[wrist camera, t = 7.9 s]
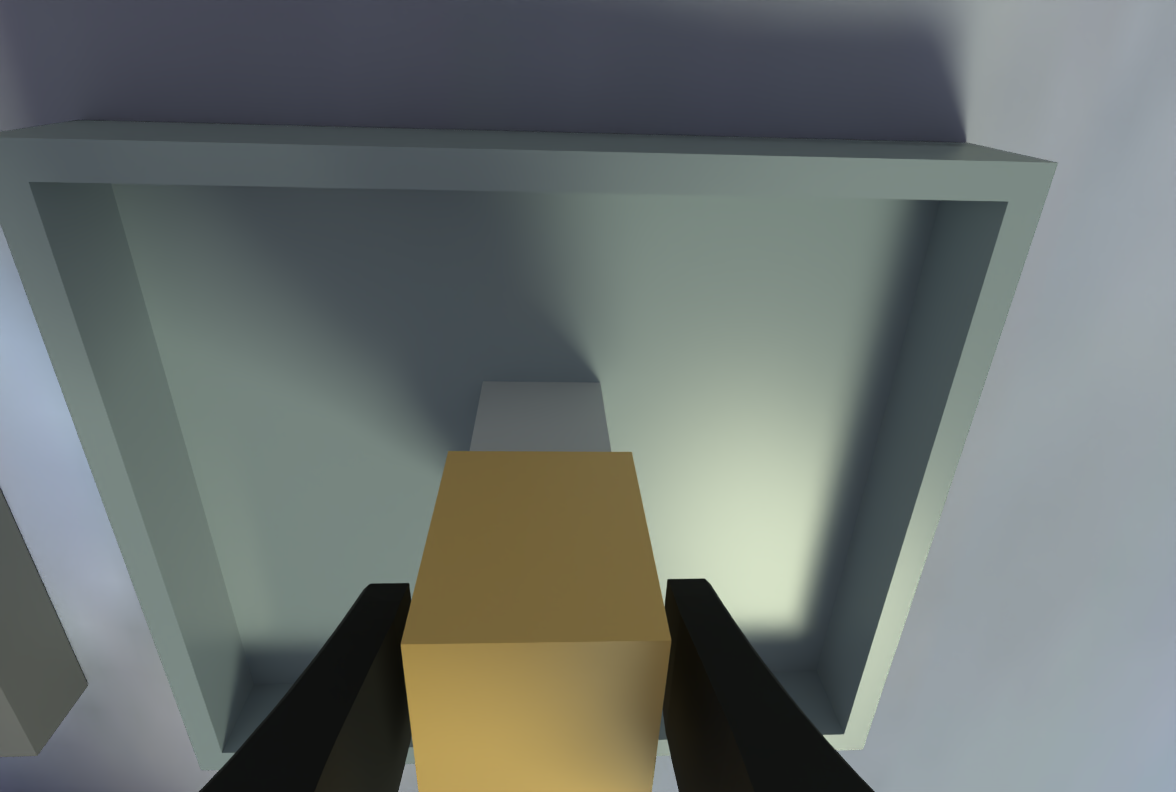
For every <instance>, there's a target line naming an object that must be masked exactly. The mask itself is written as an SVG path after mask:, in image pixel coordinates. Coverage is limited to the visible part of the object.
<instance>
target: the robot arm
mask: <svg viewBox="0 0 1176 792" xmlns="http://www.w3.org/2000/svg"><path fill="white" fill-rule="evenodd" d="M410 604H411V594H410V585H409V583H371V584H369V585H368V586H367V587H366V588H364V589H363V591H362V592H361V594H360V595H359V597H358V598H357V600H356V601H355V602H354V604H353V605H352V607H351V608H350V610H349V611H348V612H347V614H346V615H345V617H344V618H343V620H342V621H341V622H340V624H339V625H338V626H337V628H336V629H335V631H334V632H333V633H332V635H331V636H330V637H329V639H328V640H327V641H326V643H325V644H324V645H323V647H322V648H321V649H320V651H319V652H318V653H317V655H316V656H315V657H314V659H313V660H312V661H311V662H310V664H309V665H308V666H307V668H306V669H305V670H304V671H303V673H302V674H301V675H300V676H299V678H298V679H297V680H296V681H295V683H294V684H293V685H292V686H291V688H290V689H289V690H288V692H287V693H286V694H285V695H284V697H283V698H282V699H281V700H280V701H279V703H278V704H277V705H276V706H275V707H274V709H273V710H272V711H271V712H270V713H269V714H268V716H267V717H266V718H265V719H264V720H263V721H262V723H261V724H260V725H259V726H258V727H257V728H256V729H255V731H254V732H253V733H252V734H251V735H250V736H249V737H248V739H247V740H246V741H245V742H244V743H243V744H242V746H241V747H240V748H239V749H238V750H237V751H236V752H235V754H234V755H233V756H232V757H231V758H230V759H229V760H228V761H227V762H226V764H225V765H224V766H223V767H222V768H221V769H220V770H219V771H218V772H217V773H216V774H215V775H214V776H213V778H212V779H211V780H210V781H209V782H208V783H207V784H206V785H205V786H204V787H203V788H202V789H201V790H200V791H199V792H398V790H399V786H400V782H401V778H402V774H403V770H404V766H405V762H406V758H407V754H408V750H409V746H410V741H411V736H412V733H411V725H410V717H409V709H408V701H407V693H406V684H405V676H404V668H403V660H402V652H401V641H402V637H403V633H404V629H405V625H406V620H407V616H408V612H409V608H410ZM664 607H665V612H666V617H667V622H668V626H669V631H670V636H671V648H670V656H669V663H668V671H667V678H666V686H665V694H664V701H663V717H664V725H665V732H666V737H667V741H668V746H669V750H670V755H671V759H672V763H673V768H674V772H675V776H676V781H677V785H678V789H679V792H874V791H873V790H872V789H871V788H870V786H869V785H868V784H867V783H866V782H865V781H864V780H863V779H862V778H861V777H860V776H859V775H858V774H857V773H856V772H855V771H854V770H853V769H852V767H851V766H850V765H849V764H848V763H847V762H846V761H845V760H844V759H843V758H842V757H841V755H840V754H839V753H838V752H837V751H836V750H835V749H834V748H833V746H832V745H831V744H830V743H829V742H828V741H827V740H826V738H825V737H824V736H823V735H822V734H821V733H820V731H819V730H818V729H817V728H816V727H815V725H814V724H813V723H812V722H811V721H810V720H809V718H808V717H807V716H806V715H805V714H804V712H803V711H802V710H801V709H800V708H799V706H798V705H797V704H796V703H795V701H794V700H793V699H792V698H791V696H790V695H789V694H788V693H787V691H786V690H785V689H784V687H783V686H782V685H781V684H780V682H779V681H778V680H777V678H776V677H775V676H774V674H773V673H772V672H771V671H770V669H769V668H768V667H767V665H766V664H765V663H764V661H763V660H762V659H761V657H760V656H759V655H758V653H757V652H756V651H755V649H754V648H753V646H752V645H751V644H750V642H749V641H748V639H747V638H746V636H745V635H744V634H743V632H742V631H741V629H740V628H739V627H738V625H737V624H736V622H735V621H734V619H733V618H732V616H731V615H730V613H729V612H728V610H727V609H726V607H725V606H724V604H723V603H722V601H721V600H720V598H719V597H718V595H717V593H716V592H715V590H714V589H713V587H712V585H711V584H710V583H709V582H708V581H707V580H706V579H705V578H699V579H667V587H666V597H665V606H664Z"/></svg>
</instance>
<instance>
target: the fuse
mask: <svg viewBox="0 0 1176 792" xmlns="http://www.w3.org/2000/svg"><path fill="white" fill-rule="evenodd" d="M670 648H671V636H670V631H669V626H668V622H667V617H666V612H665V607H664V603H663V598H662V593H661V588H660V584H659V579H658V574H657V569H656V565H655V560H654V555H653V550H652V546H651V541H650V536H649V531H648V527H647V522H646V517H645V512H644V508H643V503H642V498H641V493H640V489H639V484H638V479H637V474H636V469H635V465H634V460H633V455H632V452H611V446H610V440H609V433H608V427H607V421H606V415H605V408H604V402H603V396H602V390H601V383H590V382H499V381H483V384H482V389H481V394H480V399H479V404H478V409H477V415H476V420H475V425H474V430H473V435H472V440H471V446H470V451H448V454H447V458H446V462H445V466H444V470H443V474H442V478H441V482H440V486H439V491H438V495H437V499H436V503H435V507H434V511H433V515H432V519H431V523H430V527H429V531H428V535H427V539H426V543H425V547H424V551H423V556H422V560H421V564H420V568H419V572H418V576H417V580H416V584H415V588H414V592H413V596H412V600H411V604H410V608H409V612H408V616H407V620H406V625H405V629H404V633H403V637H402V641H401V652H402V660H403V668H404V676H405V684H406V693H407V701H408V709H409V717H410V725H411V733H412V741H413V749H414V758H415V766H416V774H417V782H418V790H419V792H652V785H653V777H654V770H655V762H656V754H657V747H658V739H659V732H660V724H661V716H662V709H663V701H664V694H665V686H666V678H667V671H668V663H669V656H670Z"/></svg>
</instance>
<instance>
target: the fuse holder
mask: <svg viewBox="0 0 1176 792" xmlns="http://www.w3.org/2000/svg"><path fill="white" fill-rule="evenodd" d="M87 686H88V684H87V682H86V680H85V677H84V675H83V673H82V671H81V668H80V666H79V664H78V662H77V659H76V657H75V655H74V653H73V650H72V648H71V646H70V644H69V642H68V639H67V637H66V635H65V633H64V630H63V628H62V626H61V624H60V621H59V619H58V617H57V615H56V612H55V610H54V608H53V606H52V604H51V601H50V599H49V597H48V595H47V592H46V590H45V588H44V586H43V583H42V581H41V579H40V577H39V574H38V572H37V570H36V568H35V566H34V563H33V561H32V559H31V557H30V554H29V552H28V550H27V548H26V545H25V543H24V541H23V539H22V536H21V534H20V532H19V530H18V528H17V525H16V523H15V521H14V519H13V516H12V514H11V512H10V510H9V507H8V505H7V503H6V501H5V498H4V496H3V494H2V492H1V490H0V757H16V756H38V754H39V753H40V751H41V750H42V749H43V747H44V746H45V744H46V743H47V742H48V740H49V739H50V738H51V736H52V735H53V733H54V732H55V731H56V729H57V728H58V726H59V725H60V724H61V722H62V721H63V720H64V718H65V717H66V715H67V714H68V713H69V711H70V710H71V708H72V707H73V706H74V704H75V703H76V702H77V700H78V699H79V697H80V696H81V695H82V693H83V692H84V690H85V689H86V688H87Z"/></svg>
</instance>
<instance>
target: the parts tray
mask: <svg viewBox="0 0 1176 792" xmlns="http://www.w3.org/2000/svg"><path fill="white" fill-rule="evenodd" d="M1057 164H1058V163H1057V162H1052V161H1048V160H1043V159H1039V158H1034V157H1030V156H1025V155H1021V154H1016V153H1012V152H1007V151H1003V150H998V149H994V148H989V147H985V146H980V145H976V144H971V143H957V142H918V141H879V140H840V139H801V138H761V137H722V136H683V135H644V134H605V133H566V132H527V131H488V130H449V129H410V128H371V127H332V126H293V125H254V124H215V123H176V122H137V121H98V120H75V121H69V122H62V123H56V124H49V125H42V126H36V127H29V128H22V129H16V130H9V131H3V132H0V224H1V226H2V229H3V232H4V235H5V237H6V240H7V243H8V245H9V248H10V251H11V254H12V256H13V259H14V262H15V265H16V267H17V270H18V273H19V275H20V278H21V281H22V284H23V286H24V289H25V292H26V295H27V297H28V300H29V303H30V305H31V308H32V311H33V314H34V316H35V319H36V322H37V324H38V327H39V330H40V333H41V335H42V338H43V341H44V344H45V346H46V349H47V352H48V354H49V357H50V360H51V363H52V365H53V368H54V371H55V374H56V376H57V379H58V382H59V384H60V387H61V390H62V393H63V395H64V398H65V401H66V403H67V406H68V409H69V412H70V414H71V417H72V420H73V423H74V425H75V428H76V431H77V433H78V436H79V439H80V442H81V444H82V447H83V450H84V453H85V455H86V458H87V461H88V463H89V466H90V469H91V472H92V474H93V477H94V480H95V482H96V485H97V488H98V491H99V493H100V496H101V499H102V502H103V504H104V507H105V510H106V512H107V515H108V518H109V521H110V523H111V526H112V529H113V532H114V534H115V537H116V540H117V542H118V545H119V548H120V551H121V553H122V556H123V559H124V561H125V564H126V567H127V570H128V572H129V575H130V578H131V581H132V583H133V586H134V589H135V591H136V594H137V597H138V600H139V602H140V605H141V608H142V610H143V613H144V616H145V619H146V621H147V624H148V627H149V630H150V632H151V635H152V638H153V640H154V643H155V646H156V649H157V651H158V654H159V657H160V660H161V662H162V665H163V668H164V670H165V673H166V676H167V679H168V681H169V684H170V687H171V689H172V692H173V695H174V698H175V700H176V703H177V706H178V709H179V711H180V714H181V717H182V719H183V722H184V725H185V728H186V730H187V733H188V736H189V739H190V741H191V744H192V747H193V749H194V752H195V755H196V758H197V760H198V763H199V766H200V768H201V770H220V769H221V768H222V767H223V766H224V765H225V764H226V762H227V761H228V760H229V759H230V758H231V757H232V756H233V755H234V754H235V752H236V751H237V750H238V749H239V748H240V747H241V746H242V744H243V743H244V742H245V741H246V740H247V739H248V737H249V736H250V735H251V734H252V733H253V732H254V731H255V729H256V728H257V727H258V726H259V725H260V724H261V723H262V721H263V720H264V719H265V718H266V717H267V716H268V714H269V713H270V712H271V711H272V710H273V709H274V707H275V706H276V705H277V704H278V703H279V701H280V700H281V699H282V698H283V697H284V695H285V694H286V693H287V692H288V690H289V689H290V688H291V686H292V685H293V684H294V683H295V681H296V680H297V679H298V678H299V676H300V675H301V674H302V673H303V671H304V670H305V669H306V668H307V666H308V665H309V664H310V662H311V661H312V660H313V659H314V657H315V656H316V655H317V653H318V652H319V651H320V649H321V648H322V647H323V645H324V644H325V643H326V641H327V640H328V639H329V637H330V636H331V635H332V633H333V632H334V631H335V629H336V628H337V626H338V625H339V624H340V622H341V621H342V620H343V618H344V617H345V615H346V614H347V612H348V611H349V610H350V608H351V607H352V605H353V604H354V602H355V601H356V600H357V598H358V597H359V595H360V594H361V592H362V591H363V589H364V588H366V587H367V586H368V585H369V584H371V583H409V585H410V594H411V600H412V596H413V592H414V588H415V584H416V580H417V576H418V572H419V568H420V564H421V560H422V556H423V551H424V547H425V543H426V539H427V535H428V531H429V527H430V523H431V519H432V515H433V511H434V507H435V503H436V499H437V495H438V491H439V486H440V482H441V478H442V474H443V470H444V466H445V462H446V458H447V454H448V451H470V446H471V440H472V435H473V430H474V425H475V420H476V415H477V409H478V404H479V399H480V394H481V389H482V384H483V381H499V382H590V383H601V390H602V396H603V402H604V408H605V415H606V421H607V427H608V433H609V440H610V446H611V452H632V455H633V460H634V465H635V469H636V474H637V479H638V484H639V489H640V493H641V498H642V503H643V508H644V512H645V517H646V522H647V527H648V531H649V536H650V541H651V546H652V550H653V555H654V560H655V565H656V569H657V574H658V579H659V584H660V588H661V593H662V598H663V603H664V606H665V597H666V587H667V579H699V578H705V579H706V580H707V581H708V582H709V583H710V584H711V585H712V587H713V589H714V590H715V592H716V593H717V595H718V597H719V598H720V600H721V601H722V603H723V604H724V606H725V607H726V609H727V610H728V612H729V613H730V615H731V616H732V618H733V619H734V621H735V622H736V624H737V625H738V627H739V628H740V629H741V631H742V632H743V634H744V635H745V636H746V638H747V639H748V641H749V642H750V644H751V645H752V646H753V648H754V649H755V651H756V652H757V653H758V655H759V656H760V657H761V659H762V660H763V661H764V663H765V664H766V665H767V667H768V668H769V669H770V671H771V672H772V673H773V674H774V676H775V677H776V678H777V680H778V681H779V682H780V684H781V685H782V686H783V687H784V689H785V690H786V691H787V693H788V694H789V695H790V696H791V698H792V699H793V700H794V701H795V703H796V704H797V705H798V706H799V708H800V709H801V710H802V711H803V712H804V714H805V715H806V716H807V717H808V718H809V720H810V721H811V722H812V723H813V724H814V725H815V727H816V728H817V729H818V730H819V731H820V733H821V734H822V735H823V736H824V737H825V738H826V740H827V741H828V742H829V743H830V744H831V745H832V746H833V748H834V749H835V750H863V747H864V744H865V741H866V738H867V735H868V732H869V729H870V726H871V723H872V720H873V717H874V714H875V711H876V708H877V705H878V702H879V699H880V696H881V693H882V690H883V687H884V684H885V681H886V678H887V675H888V672H889V669H890V666H891V663H892V660H893V657H894V654H895V651H896V648H897V645H898V642H899V639H900V636H901V633H902V630H903V627H904V624H905V621H906V618H907V615H908V612H909V609H910V606H911V603H912V600H913V597H914V594H915V591H916V588H917V585H918V582H919V579H920V576H921V573H922V570H923V567H924V564H925V561H926V558H927V555H928V552H929V549H930V546H931V543H932V540H933V537H934V534H935V531H936V528H937V525H938V522H939V519H940V516H941V513H942V510H943V507H944V504H945V501H946V498H947V495H948V492H949V489H950V486H951V483H952V480H953V477H954V474H955V471H956V468H957V465H958V462H959V459H960V456H961V453H962V450H963V447H964V444H965V441H966V438H967V435H968V432H969V429H970V426H971V423H972V420H973V417H974V414H975V411H976V408H977V405H978V402H979V399H980V396H981V393H982V390H983V387H984V384H985V381H986V378H987V375H988V372H989V369H990V366H991V363H992V360H993V357H994V354H995V351H996V348H997V345H998V342H999V339H1000V336H1001V333H1002V330H1003V327H1004V324H1005V321H1006V317H1007V314H1008V311H1009V308H1010V305H1011V302H1012V299H1013V296H1014V293H1015V290H1016V287H1017V284H1018V281H1019V278H1020V275H1021V272H1022V269H1023V266H1024V263H1025V260H1026V257H1027V254H1028V251H1029V248H1030V245H1031V242H1032V239H1033V236H1034V233H1035V230H1036V227H1037V224H1038V221H1039V218H1040V215H1041V212H1042V209H1043V206H1044V203H1045V200H1046V197H1047V194H1048V191H1049V188H1050V185H1051V182H1052V179H1053V176H1054V173H1055V170H1056V167H1057ZM656 756H671V755H670V750H669V746H668V741H667V737H666V732H665V725H664V717H663V709H662V716H661V724H660V732H659V739H658V747H657V754H656ZM405 764H415V758H414V749H413V741H412V736H411V741H410V746H409V750H408V754H407V758H406V762H405Z"/></svg>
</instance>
